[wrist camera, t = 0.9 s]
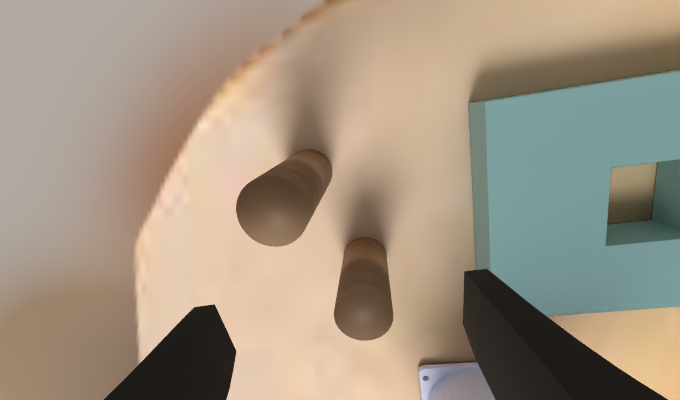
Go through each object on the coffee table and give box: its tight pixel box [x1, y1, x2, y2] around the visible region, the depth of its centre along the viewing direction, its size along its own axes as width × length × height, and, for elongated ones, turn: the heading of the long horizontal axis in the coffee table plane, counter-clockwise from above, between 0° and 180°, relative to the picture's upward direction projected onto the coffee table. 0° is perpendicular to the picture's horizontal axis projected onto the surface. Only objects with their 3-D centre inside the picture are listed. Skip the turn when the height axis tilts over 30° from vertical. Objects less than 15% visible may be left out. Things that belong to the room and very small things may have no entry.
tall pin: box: [236, 150, 332, 246], centre depth 18 cm, size 3×3×9 cm
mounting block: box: [469, 70, 680, 316], centre depth 19 cm, size 14×18×3 cm
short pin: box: [334, 238, 393, 340], centre depth 20 cm, size 3×3×7 cm
